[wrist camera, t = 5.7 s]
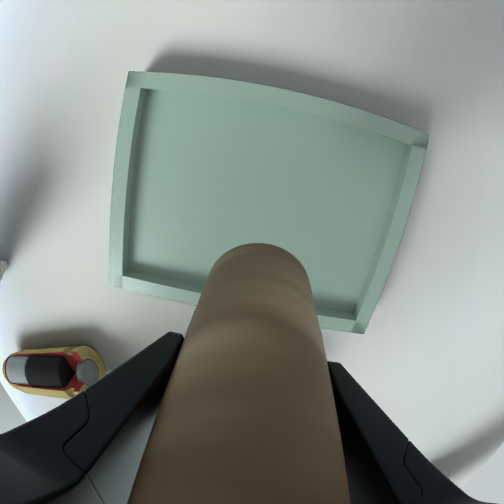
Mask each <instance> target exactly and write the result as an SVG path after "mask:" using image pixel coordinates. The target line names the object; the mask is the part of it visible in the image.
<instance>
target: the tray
mask: <svg viewBox="0 0 504 504" xmlns="http://www.w3.org/2000/svg"><path fill="white" fill-rule="evenodd" d="M428 138H429V134H427V133H424V132H422V131H419V130H417V129H414V128H412V127H409V126H407V125H404V124H401V123H399V122H396V121H393V120H391V119H388V118H385V117H382V116H379V115H376V114H373V113H370V112H367V111H364V110H361V109H358V108H355V107H351V106H348V105H345V104H341V103H338V102H334V101H331V100H327V99H323V98H319V97H316V96H312V95H307V94H303V93H299V92H295V91H290V90H286V89H281V88H276V87H271V86H266V85H261V84H255V83H249V82H243V81H237V80H230V79H223V78H215V77H207V76H198V75H188V74H176V73H160V72H135V71H129V73H128V77H127V82H126V87H125V93H124V98H123V104H122V110H121V116H120V122H119V129H118V136H117V144H116V152H115V161H114V171H113V183H112V196H111V213H110V240H109V281H110V286H114V287H118V288H122V289H126V290H130V291H134V292H138V293H142V294H146V295H151V296H155V297H159V298H163V299H168V300H172V301H177V302H181V303H186V304H190V305H195V306H197V304H198V301H199V298H200V296H201V293H202V291H203V288H204V286H205V283H206V281H207V278H208V275H209V273H210V270H211V268H212V267H213V265H214V264H215V262H216V261H217V260H218V259H219V258H220V257H221V256H222V255H223V254H224V253H226V252H227V251H229V250H231V249H233V248H235V247H237V246H240V245H244V244H249V243H266V244H271V245H275V246H278V247H280V248H283V249H285V250H286V251H288V252H290V253H291V254H292V255H294V256H295V257H296V258H297V259H298V260H299V261H300V262H301V264H302V265H303V266H304V268H305V270H306V272H307V275H308V278H309V282H310V286H311V290H312V295H313V299H314V303H315V308H316V312H317V317H318V321H319V326H320V328H323V329H330V330H337V331H344V332H351V333H359V334H364V332H365V330H366V328H367V325H368V323H369V321H370V319H371V316H372V314H373V312H374V309H375V307H376V304H377V302H378V299H379V297H380V295H381V292H382V290H383V287H384V284H385V282H386V279H387V277H388V274H389V271H390V269H391V266H392V263H393V260H394V258H395V255H396V252H397V249H398V246H399V243H400V240H401V237H402V234H403V231H404V228H405V225H406V222H407V219H408V215H409V212H410V209H411V205H412V202H413V198H414V195H415V191H416V188H417V184H418V180H419V176H420V173H421V169H422V165H423V160H424V156H425V152H426V148H427V143H428Z"/></svg>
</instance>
